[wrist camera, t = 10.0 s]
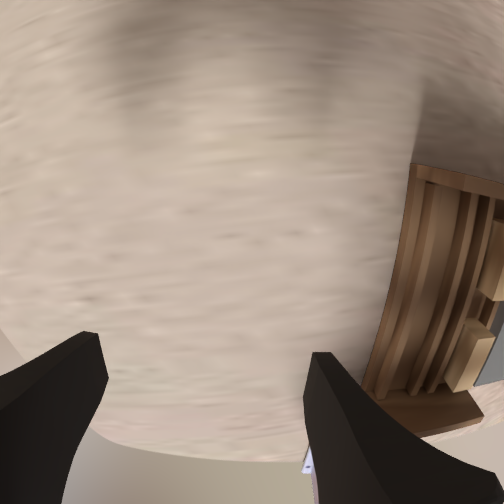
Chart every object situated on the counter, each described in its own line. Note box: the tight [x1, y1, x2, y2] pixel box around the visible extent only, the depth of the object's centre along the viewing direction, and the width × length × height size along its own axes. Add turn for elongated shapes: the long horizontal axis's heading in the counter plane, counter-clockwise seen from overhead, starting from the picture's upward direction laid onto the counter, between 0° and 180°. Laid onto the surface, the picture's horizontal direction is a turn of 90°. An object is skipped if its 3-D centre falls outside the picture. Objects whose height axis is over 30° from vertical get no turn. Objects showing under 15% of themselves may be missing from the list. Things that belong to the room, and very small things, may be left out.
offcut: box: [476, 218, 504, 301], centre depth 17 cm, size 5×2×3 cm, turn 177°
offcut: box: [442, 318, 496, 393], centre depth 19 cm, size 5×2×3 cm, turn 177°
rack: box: [361, 163, 504, 438], centre depth 17 cm, size 18×10×6 cm, turn 177°
